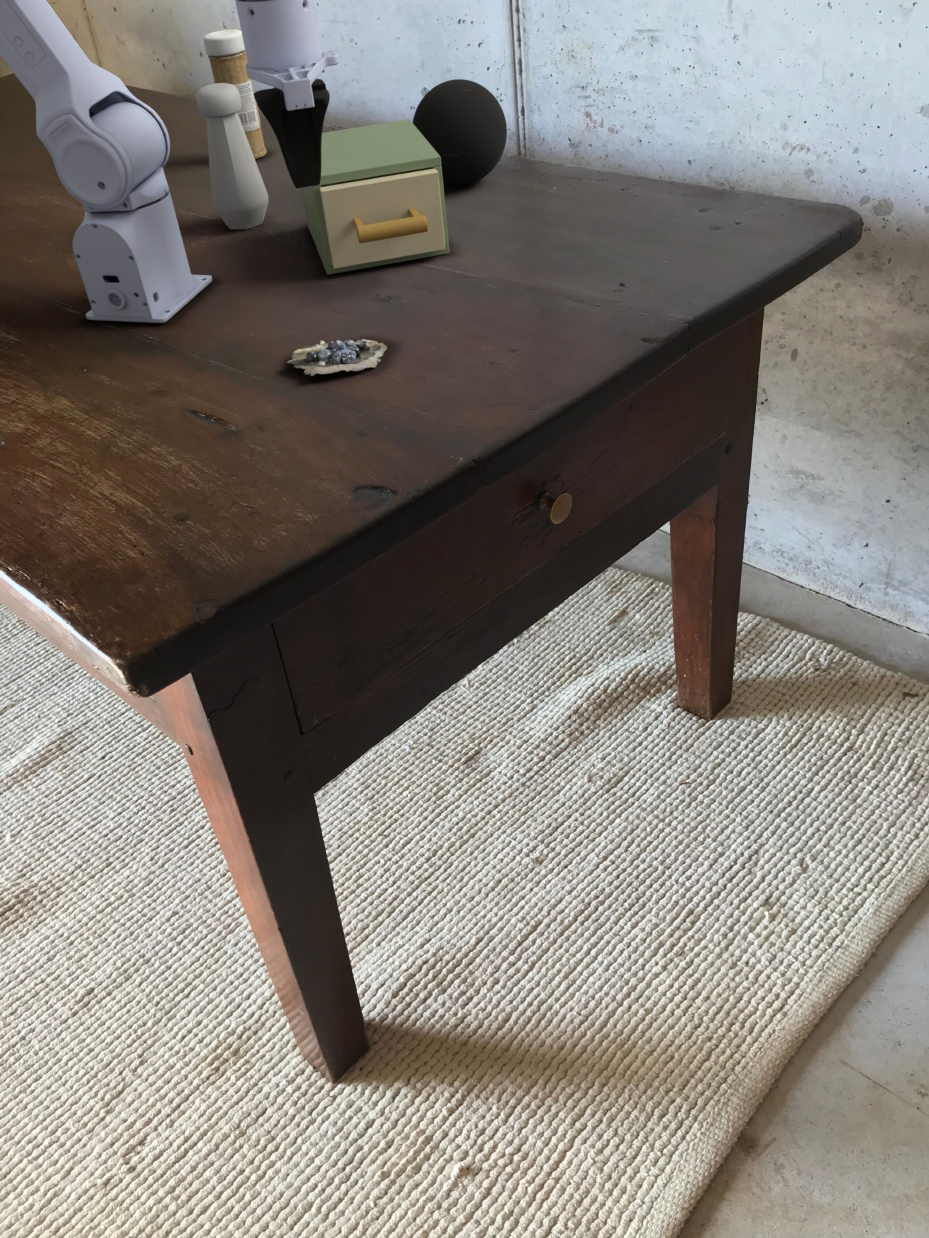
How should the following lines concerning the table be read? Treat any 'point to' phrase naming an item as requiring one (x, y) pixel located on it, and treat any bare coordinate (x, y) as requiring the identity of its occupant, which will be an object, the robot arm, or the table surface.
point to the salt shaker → (231, 159)
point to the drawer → (383, 217)
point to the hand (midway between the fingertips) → (307, 184)
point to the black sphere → (463, 129)
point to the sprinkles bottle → (236, 80)
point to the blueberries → (338, 356)
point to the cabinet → (369, 174)
